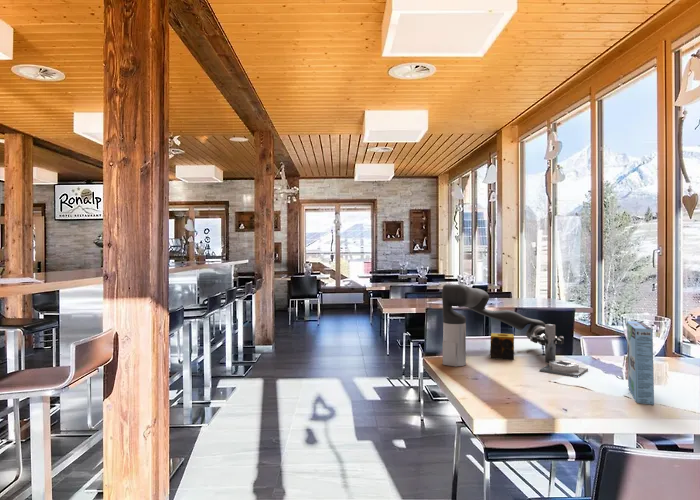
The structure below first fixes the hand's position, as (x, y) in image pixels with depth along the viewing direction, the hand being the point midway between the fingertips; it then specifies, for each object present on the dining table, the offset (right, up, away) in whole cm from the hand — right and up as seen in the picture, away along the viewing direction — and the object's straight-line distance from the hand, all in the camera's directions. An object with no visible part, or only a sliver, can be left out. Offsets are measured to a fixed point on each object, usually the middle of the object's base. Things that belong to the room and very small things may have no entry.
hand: (551, 342), depth 198 cm
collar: (-1, -9, -13) cm, 15 cm away
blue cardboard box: (+9, -8, -46) cm, 48 cm away
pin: (0, -9, +2) cm, 9 cm away
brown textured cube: (-17, -10, +13) cm, 23 cm away
